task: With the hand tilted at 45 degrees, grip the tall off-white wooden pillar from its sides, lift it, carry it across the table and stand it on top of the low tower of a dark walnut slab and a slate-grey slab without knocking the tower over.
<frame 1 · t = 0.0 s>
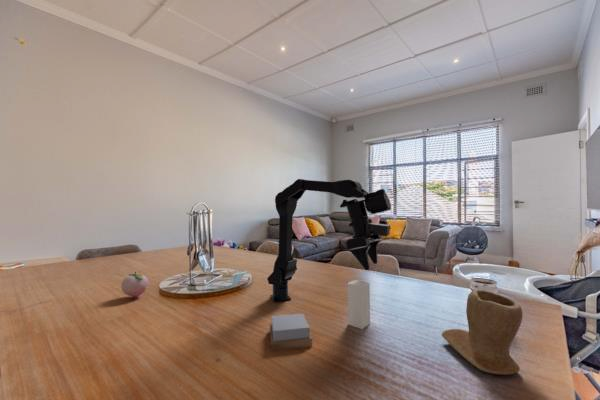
hand: (371, 266, 86), 15 cm above the table, tool pointing down, fingers open, 9 cm apart
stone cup: (483, 359, 62), on the table
decorative fruit: (134, 298, 106), on the table
tower base slab: (289, 340, 72), on the table, touching tower top slab
tower top slab: (289, 331, 72), point 2 cm above the table, touching tower base slab
pillar: (359, 324, 80), on the table
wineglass: (484, 322, 80), on the table
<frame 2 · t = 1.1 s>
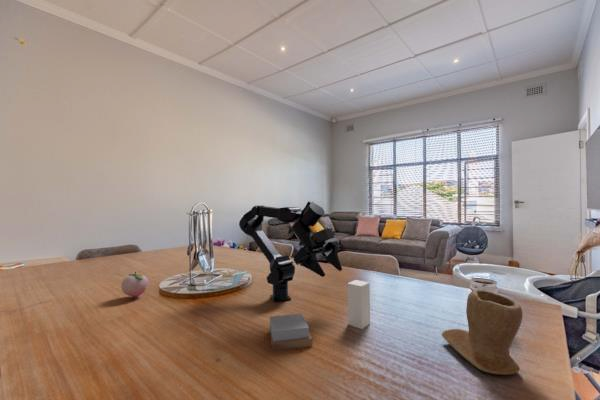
hand: (333, 273, 86), 13 cm above the table, tool tilted 45°, fingers open, 9 cm apart
nothing on the table moved.
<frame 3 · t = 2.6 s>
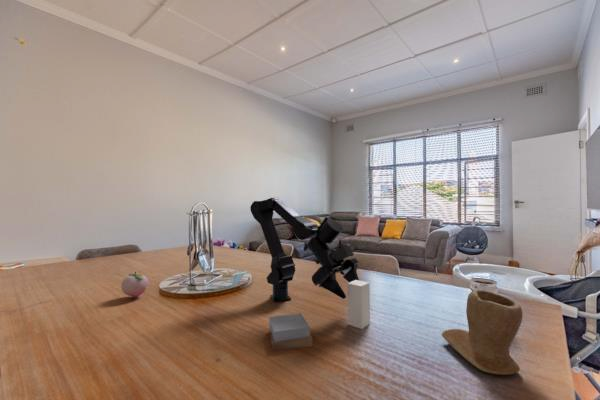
hand: (353, 293, 81), 8 cm above the table, tool tilted 45°, fingers open, 9 cm apart
nothing on the table moved.
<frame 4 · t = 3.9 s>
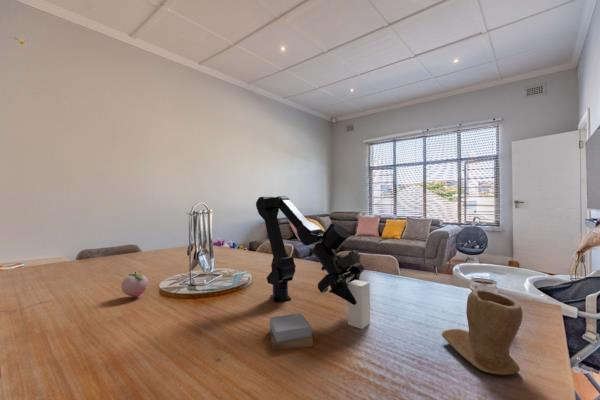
hand: (359, 301, 80), 7 cm above the table, tool tilted 45°, fingers closed on pillar, 5 cm apart
pillar: (359, 323, 80), on the table, touching gripper
everything else where it was.
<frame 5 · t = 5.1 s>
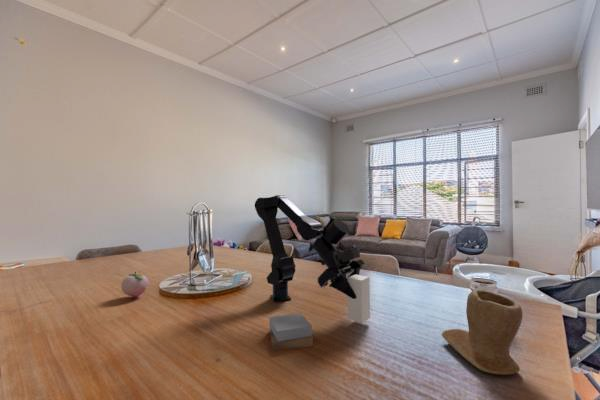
hand: (359, 296, 80), 8 cm above the table, tool tilted 45°, fingers closed on pillar, 5 cm apart
pillar: (359, 318, 80), point 2 cm above the table, touching gripper
everything else where it was.
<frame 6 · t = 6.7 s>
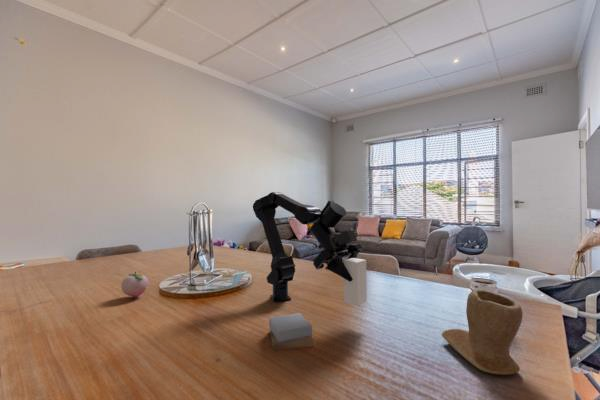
hand: (356, 278, 79), 13 cm above the table, tool tilted 45°, fingers closed on pillar, 5 cm apart
pillar: (355, 301, 79), point 7 cm above the table, touching gripper
everything else where it was.
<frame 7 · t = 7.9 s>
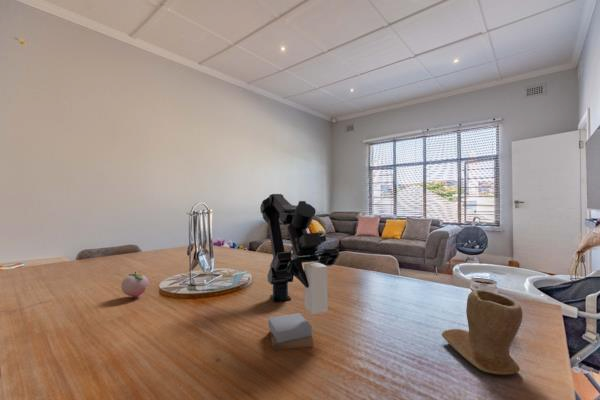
hand: (316, 285, 73), 13 cm above the table, tool tilted 45°, fingers closed on pillar, 5 cm apart
pillar: (316, 310, 73), point 7 cm above the table, touching gripper
everything else where it was.
when the fingers open (12 cm above the table, at t = 9.5 s): pillar drops 2 cm, resting on tower top slab.
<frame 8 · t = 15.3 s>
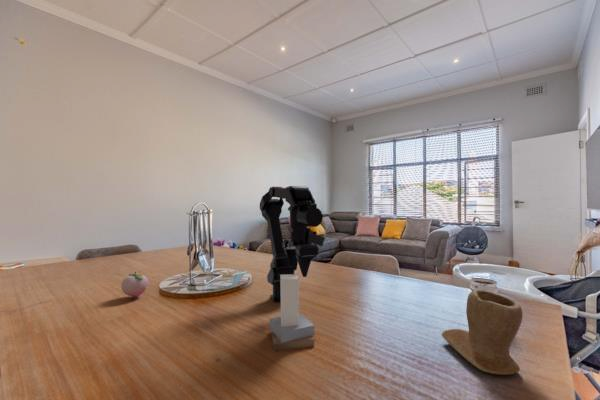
hand: (299, 273, 88), 13 cm above the table, tool pointing down, fingers open, 9 cm apart
tower top slab: (291, 331, 73), point 2 cm above the table, touching pillar, tower base slab
pillar: (289, 322, 72), point 4 cm above the table, touching tower top slab
everything else where it was.
at the end: pillar 0.4 cm off-centre on the tower top slab, point 2.6 cm above the tower top slab's base; pillar tilted 1°; tower top slab 0.2 cm off-centre on the tower base slab, point 2.5 cm above the tower base slab's base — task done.
